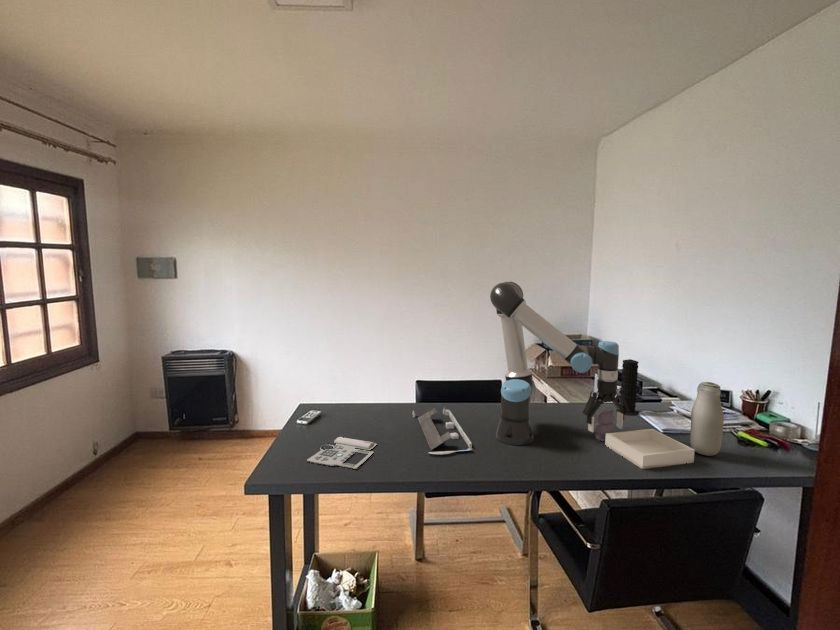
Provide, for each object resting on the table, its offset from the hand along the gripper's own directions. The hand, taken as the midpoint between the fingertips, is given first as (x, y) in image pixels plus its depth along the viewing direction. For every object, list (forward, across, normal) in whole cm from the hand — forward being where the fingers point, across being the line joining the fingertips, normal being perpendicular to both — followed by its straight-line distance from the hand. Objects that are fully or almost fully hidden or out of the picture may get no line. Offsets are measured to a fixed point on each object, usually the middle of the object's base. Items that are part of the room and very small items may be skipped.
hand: (605, 429), depth 173 cm
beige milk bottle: (+5, +28, -21) cm, 35 cm away
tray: (+4, +7, -16) cm, 18 cm away
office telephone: (+3, -105, +10) cm, 106 cm away
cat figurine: (+4, 0, 0) cm, 4 cm away
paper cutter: (+4, -65, +21) cm, 68 cm away
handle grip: (+4, +32, +25) cm, 41 cm away
